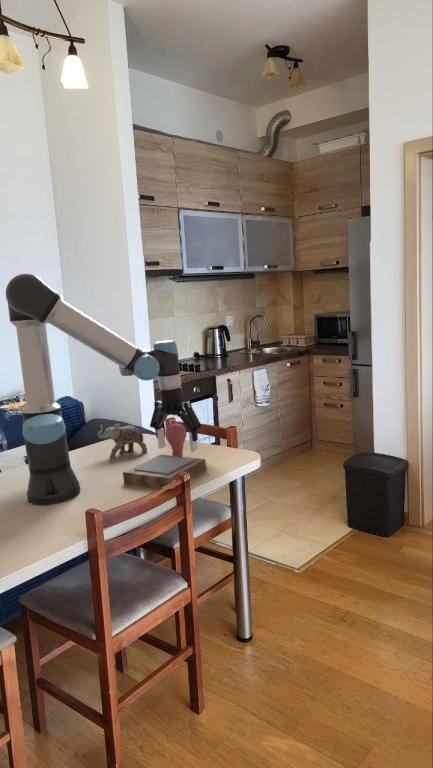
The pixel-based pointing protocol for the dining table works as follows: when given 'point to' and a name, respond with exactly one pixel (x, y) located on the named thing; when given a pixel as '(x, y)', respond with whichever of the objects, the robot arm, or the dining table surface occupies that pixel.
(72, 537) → the dining table surface
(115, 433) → the figurine
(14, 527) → the dining table surface
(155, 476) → the stand
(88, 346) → the robot arm
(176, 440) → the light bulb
